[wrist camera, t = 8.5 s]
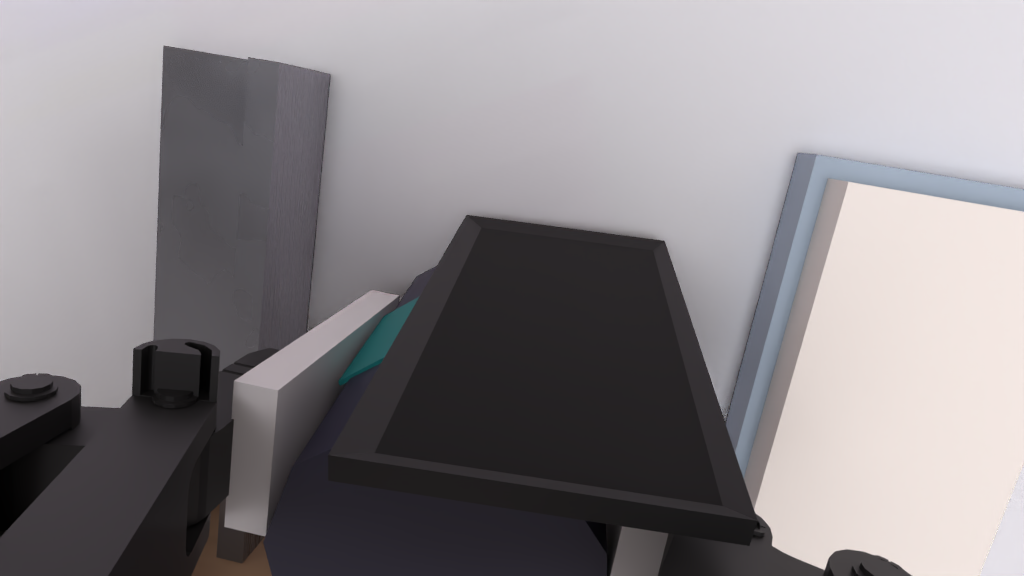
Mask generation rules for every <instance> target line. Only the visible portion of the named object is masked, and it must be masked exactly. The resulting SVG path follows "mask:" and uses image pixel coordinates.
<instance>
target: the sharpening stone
mask: <svg viewBox="0 0 1024 576" xmlns="http://www.w3.org/2000/svg"><path fill="white" fill-rule="evenodd" d="M726 427H727V430H728V433H729V436H730V439H731V442H732V445H733V448H734V451H735V454H736V457H737V460H738V463H739V466H740V469H741V472H742V475H743V478H744V481H745V484H746V487H747V490H748V493H749V496H750V499H751V502H752V505H753V508H754V511H755V513H756V514H757V515H758V516H760V517H761V518H762V519H763V520H764V521H765V522H766V523H767V524H768V526H769V527H770V529H771V532H772V536H773V539H772V546H773V547H775V548H777V549H778V550H780V551H782V552H783V553H786V554H788V555H790V556H792V557H794V558H796V559H799V560H801V561H804V562H806V563H809V564H811V565H813V566H816V567H818V568H821V569H823V570H825V568H826V565H827V562H828V559H829V557H830V556H831V555H832V554H833V553H834V552H835V551H839V550H845V549H849V550H856V551H863V552H866V553H869V554H872V555H878V556H881V557H884V558H886V559H888V561H889V562H891V561H892V562H894V563H896V564H897V565H899V566H900V567H902V569H903V570H905V571H906V572H908V573H909V574H910V575H912V576H980V574H981V571H982V568H983V566H984V563H985V561H986V558H987V556H988V553H989V551H990V548H991V546H992V543H993V541H994V538H995V536H996V533H997V530H998V528H999V525H1000V523H1001V520H1002V518H1003V515H1004V513H1005V510H1006V508H1007V505H1008V503H1009V500H1010V498H1011V495H1012V492H1013V490H1014V487H1015V485H1016V482H1017V480H1018V477H1019V475H1020V472H1021V470H1022V467H1023V465H1024V189H1018V188H1012V187H1007V186H1001V185H995V184H989V183H983V182H977V181H971V180H965V179H959V178H953V177H947V176H941V175H935V174H929V173H923V172H917V171H912V170H906V169H900V168H894V167H888V166H882V165H876V164H870V163H864V162H858V161H852V160H846V159H840V158H834V157H828V156H822V155H816V154H804V153H798V155H797V158H796V162H795V166H794V170H793V173H792V177H791V181H790V185H789V188H788V192H787V196H786V200H785V203H784V207H783V211H782V215H781V218H780V222H779V226H778V230H777V233H776V237H775V241H774V245H773V248H772V252H771V256H770V260H769V263H768V267H767V271H766V275H765V278H764V282H763V286H762V289H761V293H760V297H759V301H758V304H757V308H756V312H755V316H754V319H753V323H752V327H751V331H750V334H749V338H748V342H747V346H746V349H745V353H744V357H743V361H742V364H741V368H740V372H739V376H738V379H737V383H736V387H735V391H734V394H733V398H732V402H731V405H730V409H729V413H728V417H727V420H726Z"/></svg>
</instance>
